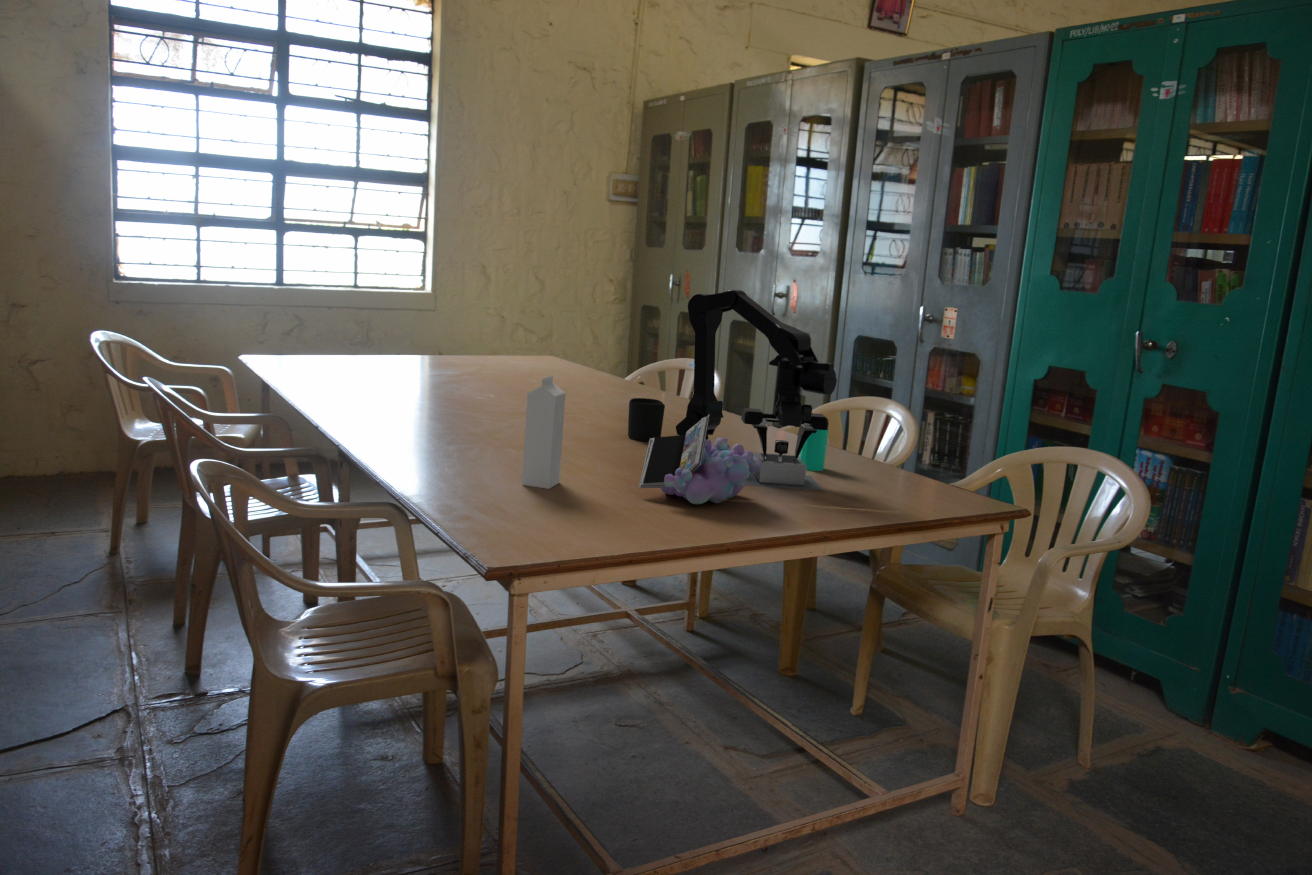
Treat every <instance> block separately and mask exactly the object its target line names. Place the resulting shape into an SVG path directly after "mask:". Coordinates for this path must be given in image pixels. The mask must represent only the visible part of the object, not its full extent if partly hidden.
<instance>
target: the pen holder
mask: <svg viewBox="0 0 1312 875" xmlns="http://www.w3.org/2000/svg"><path fill="white" fill-rule="evenodd" d="M665 406H666V405H665V404H664V402H662V401H661V400H659V399H655V398H647V397H646V398H644V397H634V398H631V399H630V400H629V401H628V419H627V420H628V421H627V423H628V424H627V436H628V438H630V439H631V440H634V441H639V442H649V441H650V438H655V437H662V429H663V422H664V417H665V416H664V415H665Z"/></svg>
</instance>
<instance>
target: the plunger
mask: <svg viewBox="0 0 1312 875" xmlns="http://www.w3.org/2000/svg"><path fill="white" fill-rule="evenodd" d="M773 452H774V454H779V456H778V462H782V456H783V454H784V455H788V453H789V441H787V440H783V439H776V440H775V442H774V451H773Z"/></svg>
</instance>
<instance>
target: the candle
mask: <svg viewBox="0 0 1312 875" xmlns="http://www.w3.org/2000/svg"><path fill="white" fill-rule="evenodd" d="M828 435H829V427H828V430H817V433H812V434H811V435H810V436H809V437H808V439H807V440H806V442H805V444H804V446H803V448H802V450H801V452H800V454H799V457H800V458H801V460H802V461H803V462H804V463H805V464H806V465H807V466H806V471H813V472H819V471H820V472H821V471H824V469H825V462H826V453H827V444H828V437H829V436H828Z"/></svg>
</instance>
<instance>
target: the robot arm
mask: <svg viewBox="0 0 1312 875" xmlns="http://www.w3.org/2000/svg"><path fill="white" fill-rule="evenodd" d="M732 310H733V311H734V312H735V313H737V315H739V316H740V317H741V318H742V319H744V320H746V322H748V323H749V325H751V326H753V327H754V328H755V329H757V330H758V331H759V332H761V333H762V334H763V335H764V336H765V337H766V338H767V341H768V342H769V345H770V346H771V348H773V350H774V352H776V353H777V354H778V355H776V356H775V358H773V359H771V360H770V361H769V362H768V364H769V366H773V367H777V368H776V377H775V384H774V385H775V387H774V393H773V394H774V395H773V403H772V404H773V405H772V412H771V413H766V412H763V411H762V410H761V409H760V408H752V407H751V408H749V407H744V408H743V410H742V412H741V417H740V418H741V419H740V420H741V421H742V422H743V424H745V425H751V426H752V428H754V429H756V432H757V435H758V437H759V441H760V442H759V443H760V446H761V451H762V453H763V455H764V456H766V453H767V450H768V448H767V447H768V437H767V436H768V434H767V433H768V426H767V423H778V424H779V425H780V426H782V427H787V426H789V427H795V428H798V433H797V438H796V444H795V448H794V451H795V452H794V455H795V458H798V456H799V457H800V452H801V450H802V448H803V446H804V444H805V442H806V440H807V439H808V437H809V436H810V435H811V434H812V433H817V430H828V431H829V429H828V428H829V419H828V417H826V416H825V415H824V414H823V413H813V406H812V404H806V403H805V404H802V403H801V402H802V401H801V399H802V397H801V396H802V395H801V394H802V390H803V391H805V392H808V393H813V394H814V393H815V394H819V395H825V396H830V395H833V393H834V391H835V389H836V386H837V382H838V379H837V374H836V371H835V369H834V363H832V362H831V363H830V362H826V363H825V362H820V361H819V360H818V358H817V356H816V354H815V352H814V350H813V348H812V346H811V338H810V336H809V334H807V333H806V332H804V331H802V330H800V329H798V328H797V327H794V326H792V325H789V324H786V323H784V322H782V321H780V320H779V319H778V318H776V317H775V316H774V315H772V313H770V312H769V311H767V310H766V309H765V308H764V307H762V306H761V305H760V304H759V303H757V302H756V301H755V300H754V299H752V298H751V297H750V296H749V295H748V294H747V293H746V292H745V291H743V290H742V289H741V290H740V289H729V290H727V291H722V292H717V293H712V294H710V293H709V294H706V293H705V294H704V293H697V294H694V295H693V296H691V297H690V299H689V300H688V302H687V314H688V321H689V323H690V325H691V327H692V329H693V331H694V356H693V358H694V360H693V362H694V363H693V392H692V396H691V397H690V399H689V401H688V404H687V407H686V408H687V409H686V414H685V417H684V418H683V419H682V420H681V421H680V422H679V423H677V424H676V425H675V430H676V436H678V435H683V436H686V432H687V431H688V430H689V429H691V428H692V427H693V426H694V425H696V424H697V423H698V422H699V421H700V420H701V419H702V418H704V417H707V416H708V415H709V414H710V417H709V423H708V428H707V434H706V440H707V439H709V436H713V435H714V433H715V431H716V429H717V427H718V426H719V425H720V424H721V422H722V419H723V418H724V414H723V407H724V401H723V400H718V399H717V396H716V394H715V380H716V379H715V377H716V376H715V374H716V372H715V371H716V370H715V369H716V368H715V367H716V333H717V331H718V328H719V327H720V324H721V322H722V318H723V313H726V312H730V311H732Z"/></svg>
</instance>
